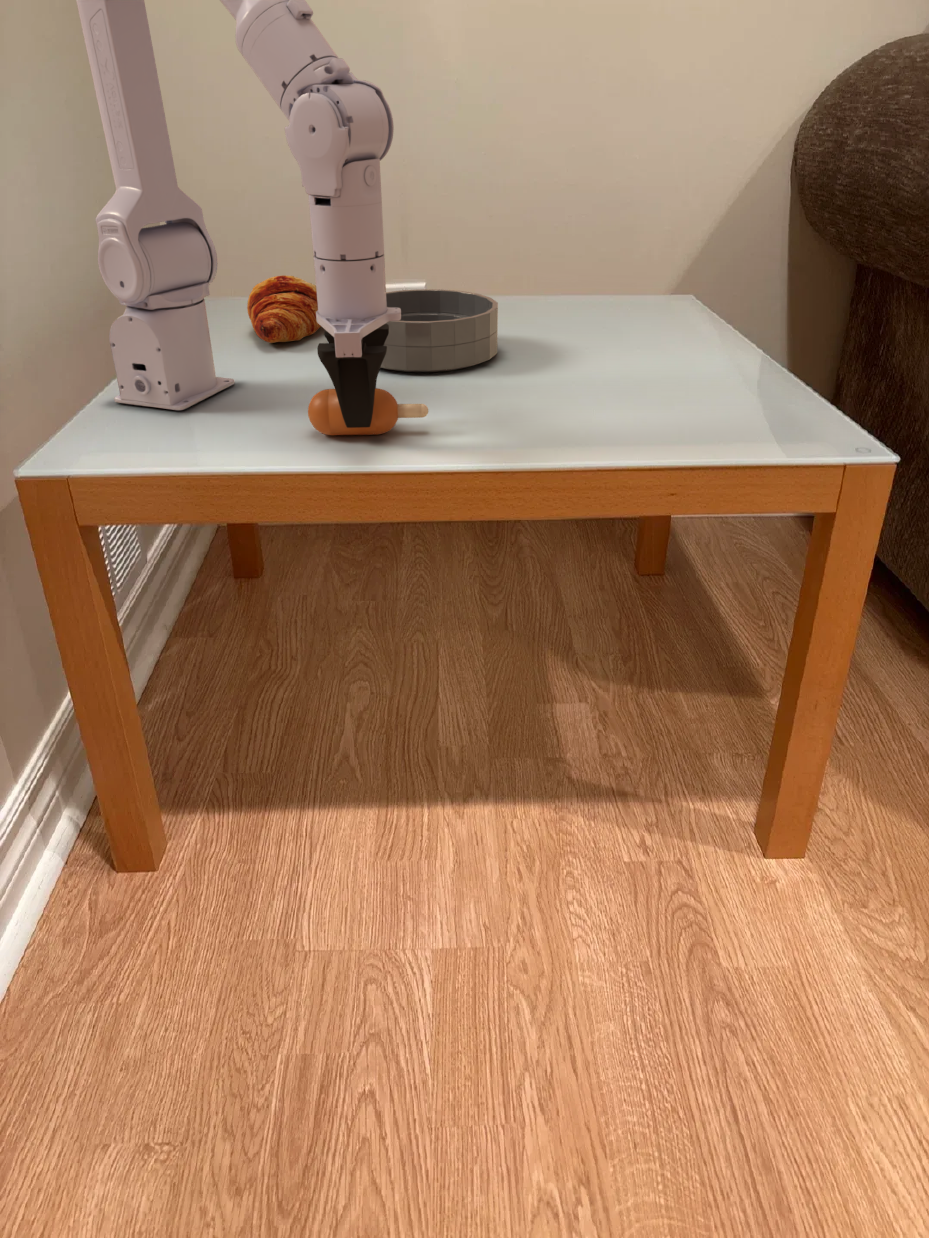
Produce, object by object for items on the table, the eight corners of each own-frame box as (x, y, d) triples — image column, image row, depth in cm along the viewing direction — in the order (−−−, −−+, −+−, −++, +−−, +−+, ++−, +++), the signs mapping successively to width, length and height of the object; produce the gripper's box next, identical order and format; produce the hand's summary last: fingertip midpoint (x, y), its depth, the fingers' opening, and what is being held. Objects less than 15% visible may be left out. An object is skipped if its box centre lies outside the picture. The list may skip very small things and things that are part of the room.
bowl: (467, 381, 95) (467, 327, 92) (328, 367, 100) (324, 315, 97) (515, 343, 108) (516, 295, 105) (390, 332, 113) (388, 285, 110)
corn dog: (307, 442, 80) (303, 397, 78) (312, 426, 84) (308, 383, 81) (429, 440, 80) (428, 395, 78) (428, 424, 84) (427, 381, 82)
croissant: (288, 335, 125) (255, 281, 121) (351, 299, 122) (319, 243, 119) (252, 378, 106) (211, 315, 103) (325, 337, 104) (286, 271, 100)
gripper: (396, 271, 68) (404, 445, 75) (400, 239, 80) (406, 391, 88) (301, 272, 68) (317, 447, 75) (319, 240, 80) (331, 393, 87)
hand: (359, 417), depth 81 cm, fingers closed on corn dog, 4 cm apart
